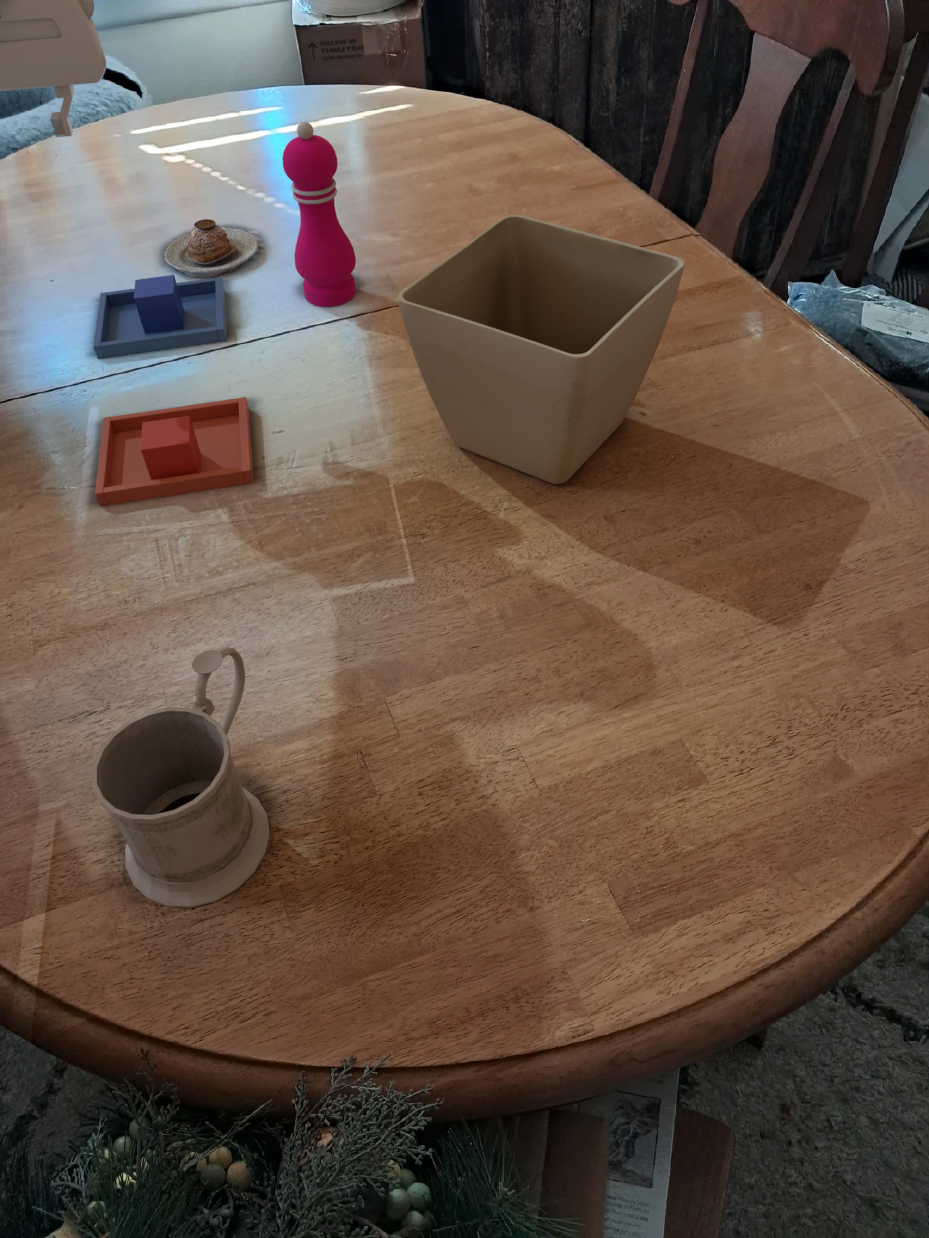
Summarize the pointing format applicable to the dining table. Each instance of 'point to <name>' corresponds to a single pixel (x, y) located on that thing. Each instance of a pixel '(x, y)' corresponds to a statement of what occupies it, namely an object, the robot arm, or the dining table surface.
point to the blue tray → (126, 334)
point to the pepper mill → (319, 221)
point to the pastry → (210, 250)
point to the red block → (170, 448)
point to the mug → (173, 768)
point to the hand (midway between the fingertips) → (13, 139)
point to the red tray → (221, 466)
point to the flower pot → (538, 340)
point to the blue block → (159, 304)
